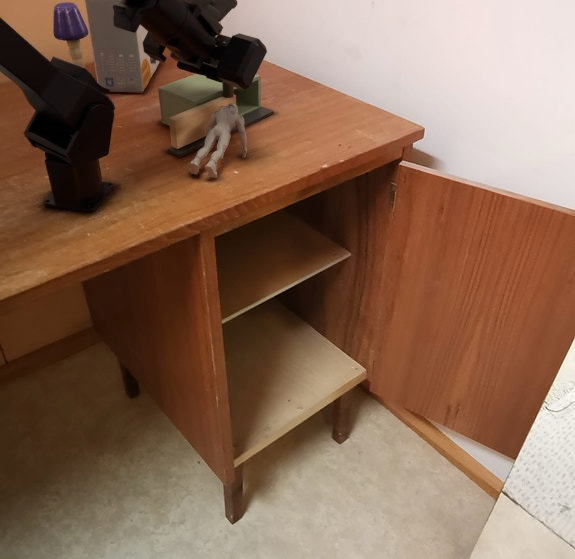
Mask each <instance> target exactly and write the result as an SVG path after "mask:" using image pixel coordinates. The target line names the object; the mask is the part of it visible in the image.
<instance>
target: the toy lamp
mask: <svg viewBox="0 0 575 559" xmlns="http://www.w3.org/2000/svg"><path fill="white" fill-rule="evenodd" d="M52 19H53V20H52V21H53V24H52V25H53V27H52V28H53V29H52V30H53V31H52V32H53V36H54V38H55V39H56V40H59V41H65V42H66V44H67V47H68V54H69V56H70V58H71V62H70V63H72V64H75V65H78V66H80V67H83V68H86V62H85V59H84V58H83V50H82V48H81V39H84V38H86V37H88V35H89V28H88V27H87V24H86V22H85V20H84V18H83V15H82V13H81V12H80V9H79V8H78V5H77V4H76V3H74V2H59V3H56V4H55V5H54V6H53V18H52Z"/></svg>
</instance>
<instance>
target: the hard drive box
mask: <svg viewBox="0 0 575 559" xmlns="http://www.w3.org/2000/svg"><path fill="white" fill-rule="evenodd" d="M120 1H121V0H84V4H85V10H86V16H87V17H86V18H87V24H88V32H89V37H90V43H91V50H92V58H93V64H94V70H95V77H96V81H97V83H98V84H99V85H101V86H102V87H105V88H107V89H110V92H111V93H112V92H115V93H137V94H139V93H141V94H143V93H144V91H145V90H146V88H147V87H148V85H149V82H150V81H151V79H152V77H153V75H154V73H155V72H156V71H157V68H158V67H159V65H160V61H157V60H154V59H152V58H151V57H149V56H148V55H147V54H146V53H144V49H143V41H144V39H145V37H146V35H147V33H148V31H147V30H146V29H145V28H143V27H142V26H141V25H139V28H138V30H137V31H136V32H135V33H133V32H130V31H126V30H123V29H120V28H116V27H115V26H114V24H113V16H114V10H113V5H114V4H118V3H120ZM110 92H109V93H110Z"/></svg>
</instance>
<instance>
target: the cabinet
mask: <svg viewBox="0 0 575 559" xmlns="http://www.w3.org/2000/svg"><path fill="white" fill-rule="evenodd" d="M261 78H262V76H261V75H260V74H258V73H256V75H255V77H254V79H253V81H252V83H251V85H250V87H249V88H247V89H246V90H242V89H239V88H236V87H234V95H236V105H237V108H238V115H240V114H241V115H242V116H243V118H244V127H245V128H246V127H248V126H250V125H253V124H256V123H257V122H259V121H261V120H264V119H266V118H268V117H270V116H273V115H274V114H275V111H274V110H273V109H269V108H266V107H263V106H262V81H261V80H262V79H261ZM157 91H158V98H159V99H158V100H159V109H160V117H161V123H162V124H164V125H166V126H169V127H170V125H169V118H170V117H172V116H175V115H177V114H180V113H182V112H185V111H187V110H190V109H192V108H195V107H197V106H200V105H202V104H205V103H207V102H210V101H212V100H214V99H217V98H219V97H222V96H223V89H222V83H220V82H217V81H214V80H211V79H208V78H206V76H203V75H199V74H195V73H193V74H192V75H189V76H186V77H183V78H180V79H177V80H175V81H172V82H170V83H167V84H163V85H161V86H159V87H157ZM236 132H239V131H238V127H237V124H236V126H235V127H234V128H233V129H232V130H231V132H230V134H231V135H232V134H234V133H236ZM205 139H206V136H205V137H203V138H201V139H198V140H196V141H194V142H192V143H190V144H187V145H185V146H183V147H181V148H179V149H176V148H174V147H172V146H170V147H169V148H167V152H168V154H172V155H174V156H176V157H178V158H182V157H184V156H186V155H189V154H190V153H193V152H195V151H198V150H200V149H201V148H203V147H204V145H205V143H204V142H205Z"/></svg>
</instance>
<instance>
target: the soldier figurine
mask: <svg viewBox="0 0 575 559" xmlns="http://www.w3.org/2000/svg"><path fill="white" fill-rule="evenodd" d="M236 124H237V127H238V131H237V132H238V138H239V140H240V143H241V149H240V150H239V153H240V154H241V153H243V154H242V156H241V157H242V158H246V156H247V153H248V148H247V142H248V136H247V132H246V127H244V118H243V116H242V115H241V114H240V115H238V108H237V105H236V104H234V103H230V104H228V106H226V107H225V106H221V107H219V108H218V111H215V112H213V113H212V115H211V118H210V120H209V124H208V125H207V126H206V139H205V142H204V143H205V145H204V146H203V147H201V148H199V149H198V150H197V152H196V155H195V156H194V158H193V159H192V160H191V161H190V163H189V167H190V168H189V169H188V171H189V172H190V174H191V175H194V176H197V175H199V172H200V170H199V168H200V164H201V161H202V160H203V159H204V158H207V157H208V156H209V152H211V151H212V149H213V148H214V146H215V145H216V143H217V145H216V150H215V151H214V152H212V154H211V156H210V158H209V161H208V162H207V163H206V164H205V165H204V167H203V168H204V170H205V171H206V172H208V174H207V176H208V177H210V178H211V179H217V178H218V172H217V163H218V161H221V160H223V159H224V155H225V151H226V150H227V149H228V147H229V144H230V141H231V136H232V133H231V134H230V132H231V130H232V129H233V128H234V127H235V126H236Z"/></svg>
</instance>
